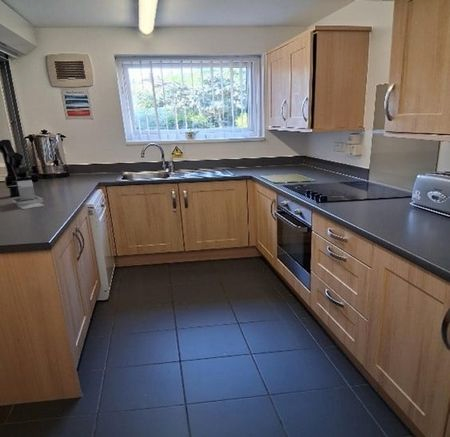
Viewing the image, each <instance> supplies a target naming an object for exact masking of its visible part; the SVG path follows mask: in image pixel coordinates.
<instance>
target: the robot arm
mask: <svg viewBox="0 0 450 437" xmlns="http://www.w3.org/2000/svg"><path fill="white" fill-rule="evenodd" d="M0 153H1V154H2V158H3V162H4V165H5V169H6V173H7V174H6V176H5V177H4V184H5V187H6V188H7V189H9V198H11V197H13V198H15V197H20V194H19V190H18V184H17V181H28V180H32V183H38V182H39V178H40V175H39V174H38V173H31V174H30V176H29V175H28V174H27V173H28V172H30V167H29V166H28V165H25V166H23V164H24V156H23V154H21V153H19V152H15V150H14V148H13V145H12V142H11V140H10V139H1V140H0ZM27 175H28V176H27Z"/></svg>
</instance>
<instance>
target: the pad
mask: <svg viewBox="0 0 450 437" xmlns="http://www.w3.org/2000/svg"><path fill="white" fill-rule="evenodd" d="M45 206H46V205H45V204H43V203H32V204H26V205H19V206H18V205H17V207H18V208H19V209H22V210H28V209H35V208H40V207H45Z"/></svg>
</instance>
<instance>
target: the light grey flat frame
mask: <svg viewBox="0 0 450 437" xmlns="http://www.w3.org/2000/svg"><path fill="white" fill-rule="evenodd" d="M12 203H13V204H14V205H16V206H17V207H18V206H19V205H26V204H32V203H41V204H43V203H44V198H42V197H41V196H38V195H35V199H33V200H27V201H21V199H20V197H18V198H12Z"/></svg>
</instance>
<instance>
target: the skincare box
mask: <svg viewBox="0 0 450 437" xmlns="http://www.w3.org/2000/svg"><path fill="white" fill-rule="evenodd" d="M17 184H18V190H19V194H20V196H19V198H20V199H21V201H27V200H33V199H35V196H36V195H35V190H34V182H32V180H28V181H17Z"/></svg>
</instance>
